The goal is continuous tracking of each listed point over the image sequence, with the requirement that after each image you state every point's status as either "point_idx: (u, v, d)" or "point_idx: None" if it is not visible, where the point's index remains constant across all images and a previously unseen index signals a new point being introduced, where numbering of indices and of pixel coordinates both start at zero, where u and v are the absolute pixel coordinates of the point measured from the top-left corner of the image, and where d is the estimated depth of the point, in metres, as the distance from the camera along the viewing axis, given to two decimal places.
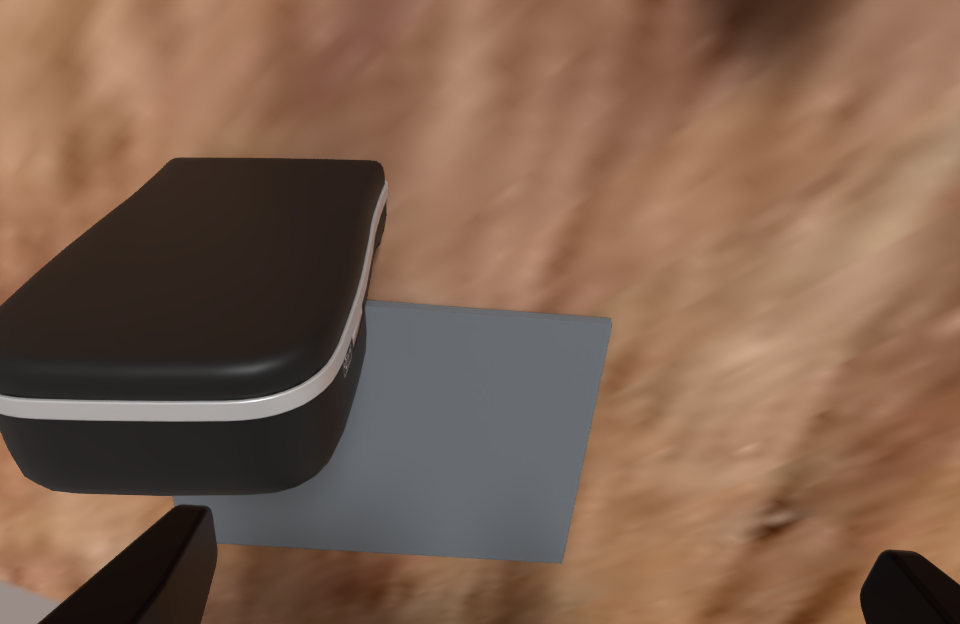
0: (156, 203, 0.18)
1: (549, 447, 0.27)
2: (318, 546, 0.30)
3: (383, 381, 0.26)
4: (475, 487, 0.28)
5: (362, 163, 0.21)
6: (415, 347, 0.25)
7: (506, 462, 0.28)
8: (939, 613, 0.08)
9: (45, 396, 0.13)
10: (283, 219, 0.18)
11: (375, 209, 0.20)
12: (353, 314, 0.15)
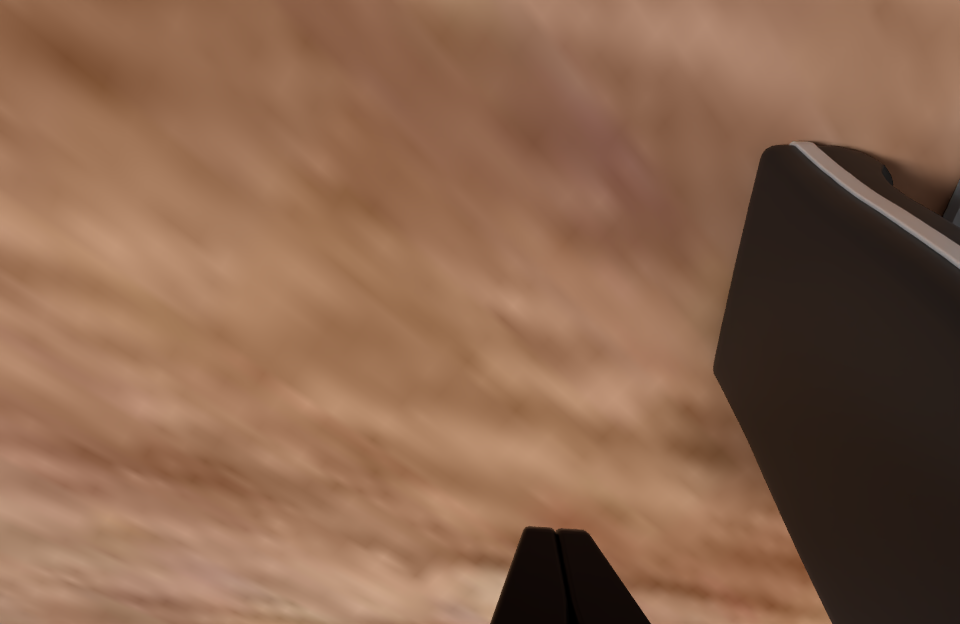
0: (765, 432, 0.16)
1: None
2: None
3: None
4: None
5: (762, 174, 0.16)
6: None
7: None
8: (569, 591, 0.08)
9: None
10: (823, 320, 0.13)
11: (833, 179, 0.14)
12: None
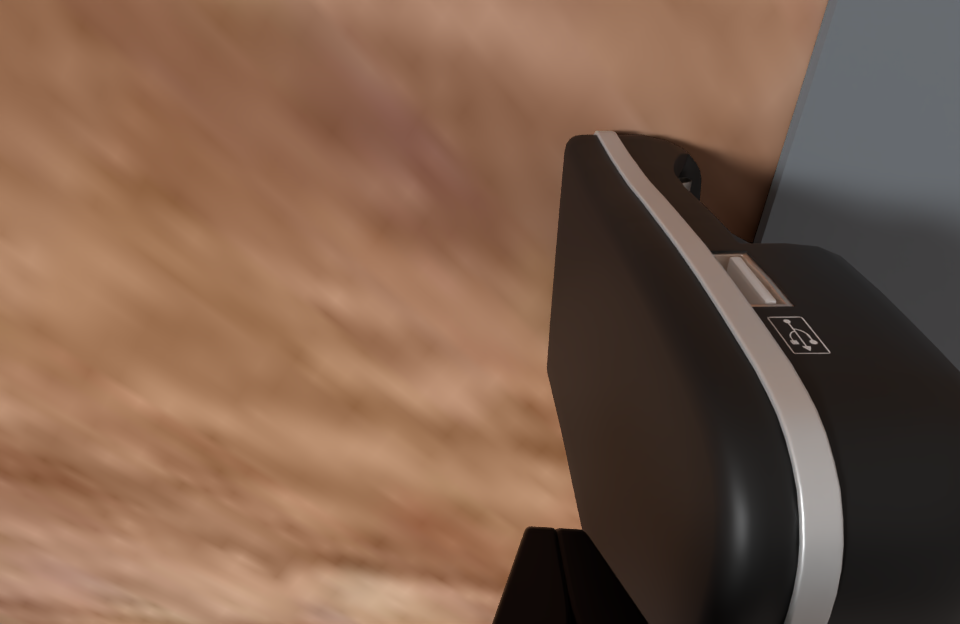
0: (570, 434, 0.15)
1: None
2: None
3: (924, 158, 0.16)
4: None
5: (564, 166, 0.16)
6: (875, 104, 0.16)
7: None
8: (567, 591, 0.08)
9: None
10: (595, 317, 0.13)
11: (617, 169, 0.14)
12: (721, 304, 0.09)
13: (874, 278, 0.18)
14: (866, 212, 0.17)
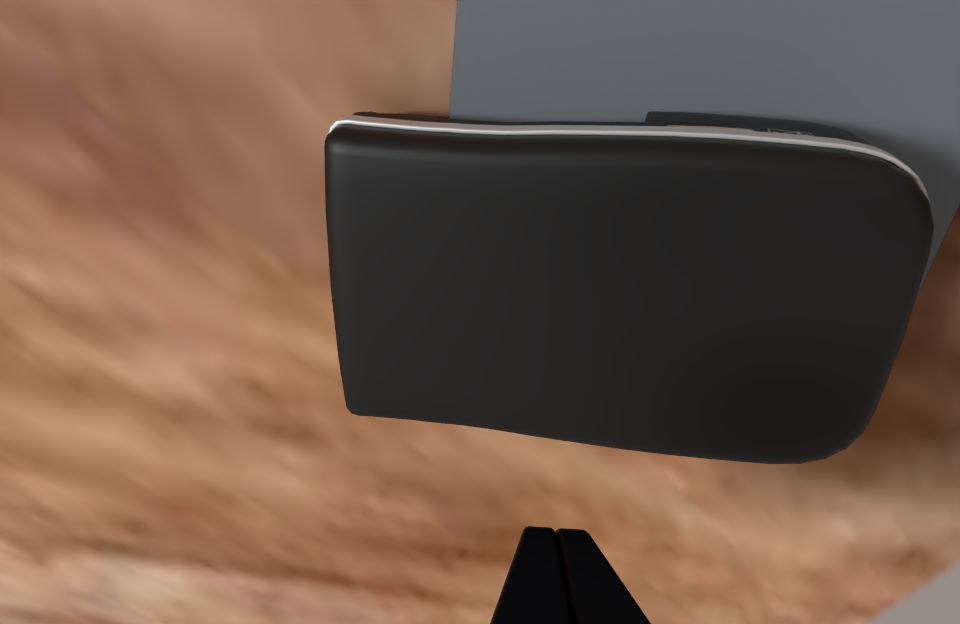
0: (514, 397, 0.15)
1: None
2: None
3: None
4: None
5: (348, 167, 0.13)
6: (523, 70, 0.15)
7: None
8: (569, 591, 0.08)
9: None
10: (569, 250, 0.14)
11: (455, 132, 0.13)
12: (769, 137, 0.13)
13: None
14: None
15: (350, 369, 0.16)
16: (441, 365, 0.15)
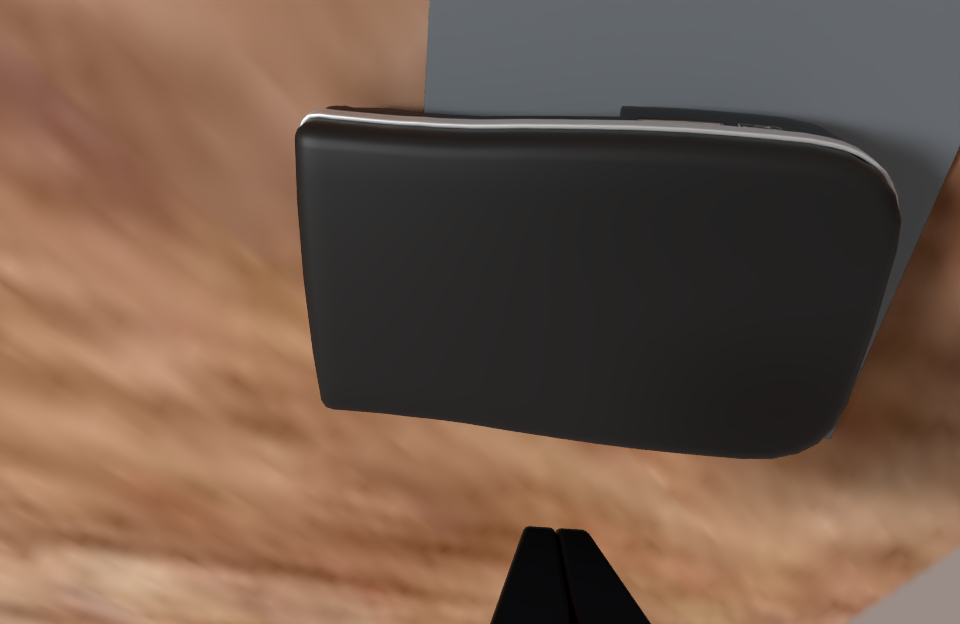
0: (487, 390, 0.15)
1: None
2: (903, 258, 0.18)
3: None
4: None
5: (319, 160, 0.13)
6: (497, 64, 0.15)
7: None
8: (569, 591, 0.08)
9: None
10: (539, 244, 0.14)
11: (425, 125, 0.13)
12: (737, 131, 0.13)
13: None
14: None
15: (324, 363, 0.16)
16: (414, 359, 0.15)
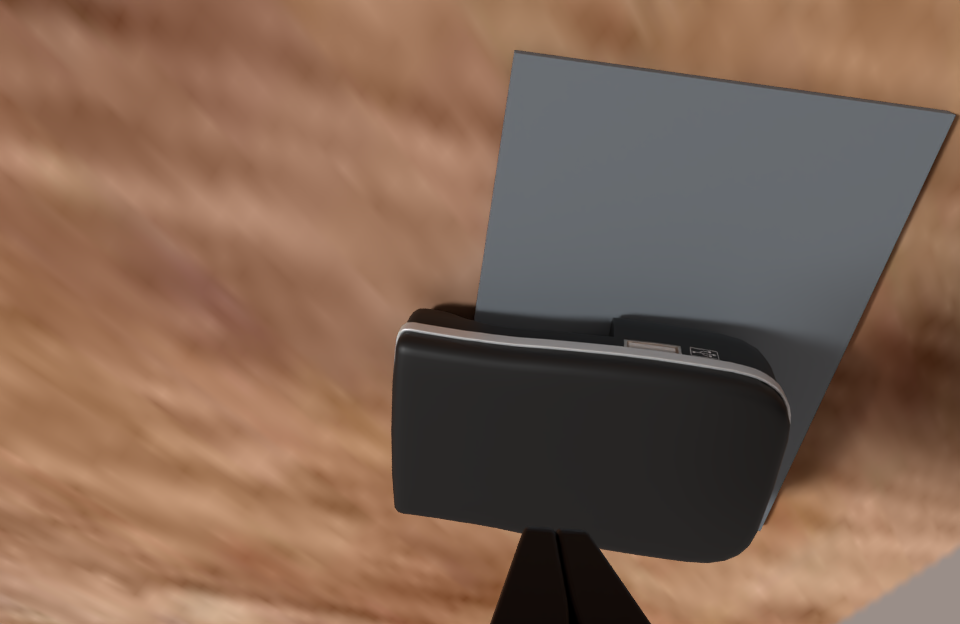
0: (514, 509, 0.22)
1: (711, 133, 0.20)
2: (810, 413, 0.25)
3: (572, 320, 0.23)
4: (760, 232, 0.21)
5: (411, 363, 0.20)
6: (529, 285, 0.22)
7: (725, 191, 0.20)
8: (569, 591, 0.08)
9: None
10: (555, 423, 0.20)
11: (482, 342, 0.20)
12: (687, 361, 0.20)
13: None
14: None
15: (400, 484, 0.22)
16: (464, 486, 0.22)
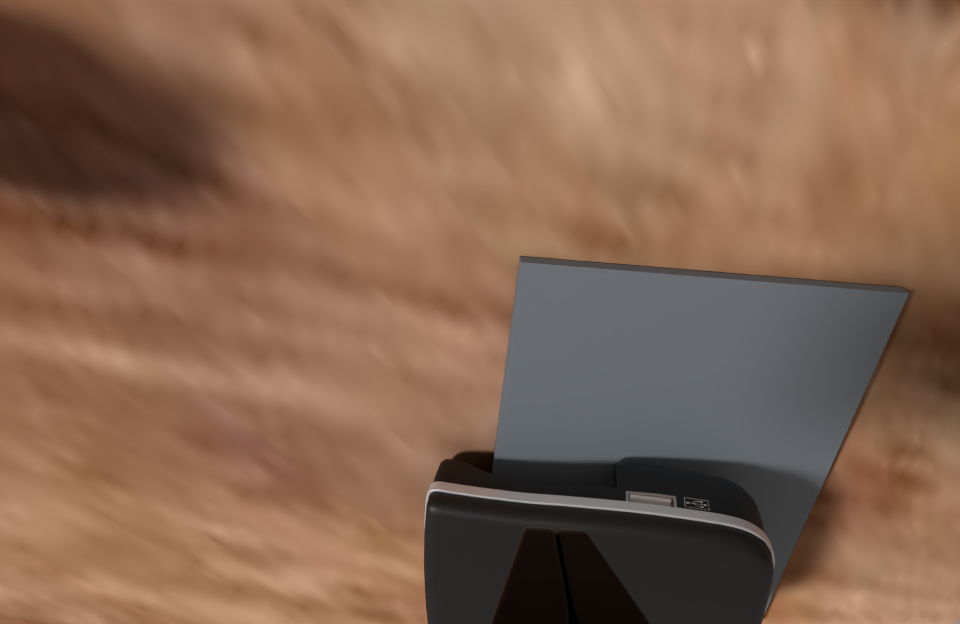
0: None
1: (695, 315, 0.23)
2: (798, 529, 0.27)
3: (580, 463, 0.26)
4: (743, 389, 0.24)
5: (440, 521, 0.23)
6: (540, 437, 0.25)
7: (710, 358, 0.23)
8: (569, 591, 0.08)
9: None
10: None
11: (502, 500, 0.23)
12: (681, 516, 0.22)
13: None
14: None
15: (433, 615, 0.25)
16: (490, 617, 0.25)
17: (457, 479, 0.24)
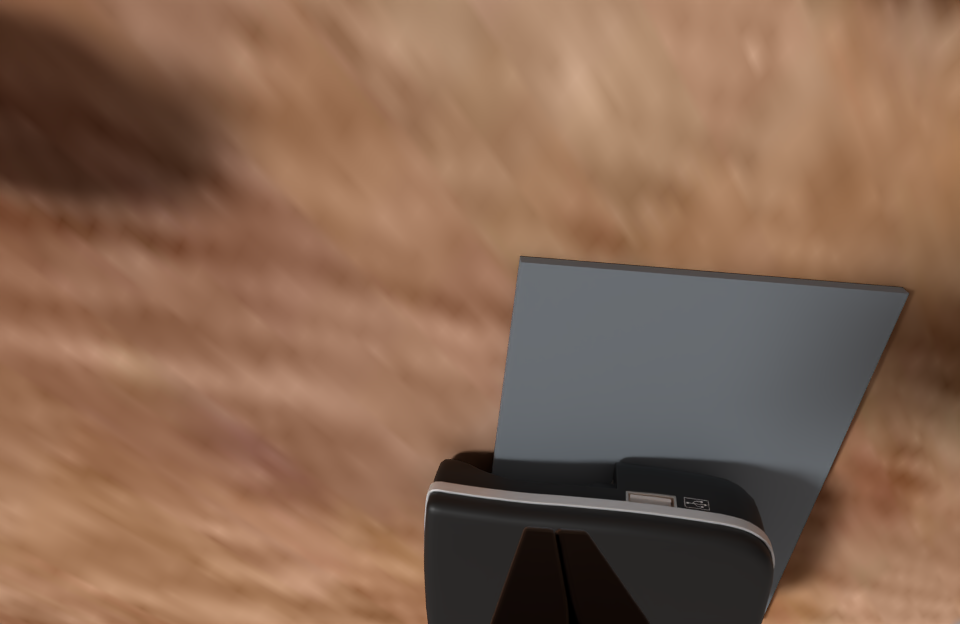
0: None
1: (695, 315, 0.23)
2: (798, 529, 0.27)
3: (580, 463, 0.26)
4: (743, 389, 0.24)
5: (440, 521, 0.23)
6: (540, 437, 0.25)
7: (710, 359, 0.23)
8: (569, 591, 0.08)
9: None
10: None
11: (502, 500, 0.23)
12: (681, 516, 0.22)
13: None
14: None
15: (433, 615, 0.25)
16: (490, 617, 0.25)
17: (457, 479, 0.24)
